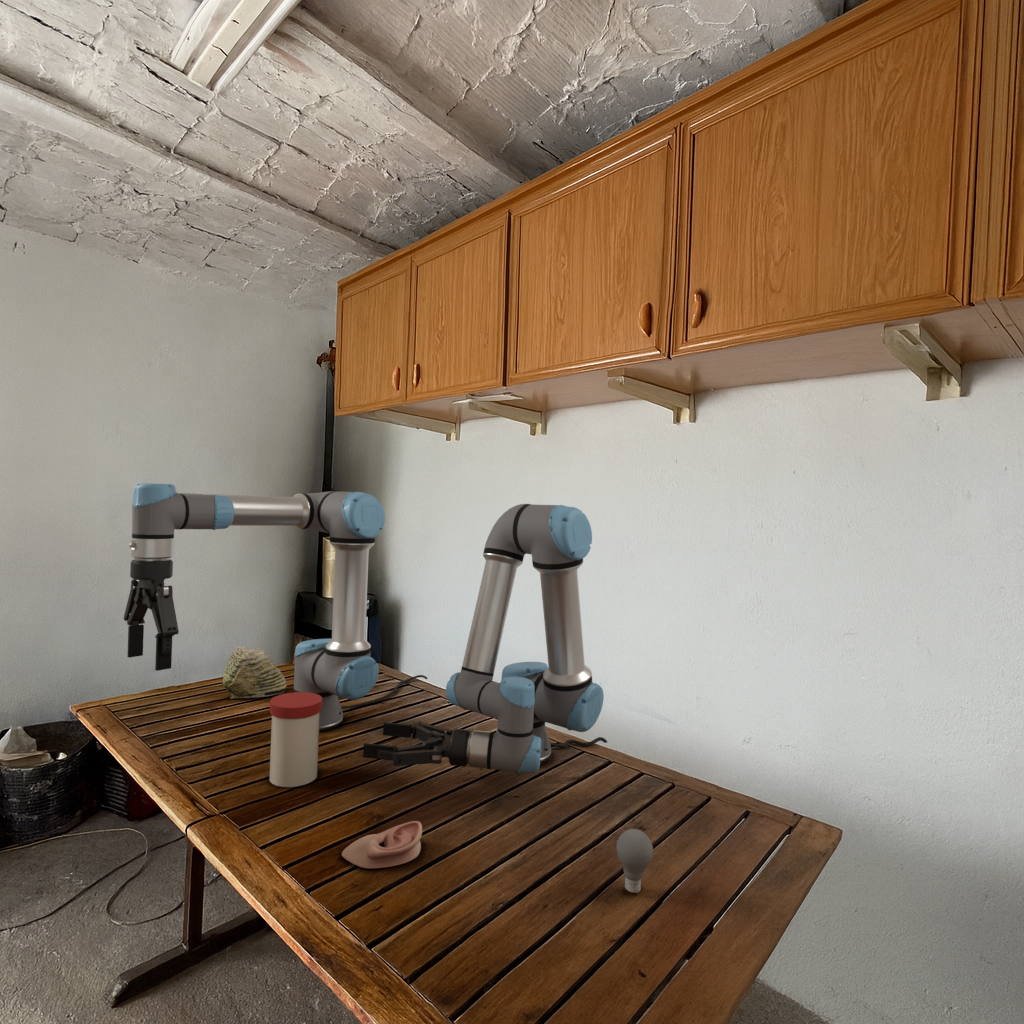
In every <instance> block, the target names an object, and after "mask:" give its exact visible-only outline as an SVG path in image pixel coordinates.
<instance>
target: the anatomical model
mask: <svg viewBox="0 0 1024 1024" xmlns="http://www.w3.org/2000/svg"><path fill="white" fill-rule="evenodd" d="M422 835H423V825H422V823H421V821H419V820H412V821H407V822H404V823H401V824H398V825H395V826H393V827H390V828H389V829H386V830H384V831H381V832H379V833H372V834H367V835H365V836H363V837H360V838H358V839H357V840H355V841H353V842H352V843H350V844H349V845H347V846H346V847H345V848H344V849H343V851H341V856H342V858H343V859H345V860H346V861H347V862H349V863H350V864H352V865H355V866H357V867H360V868H362V869H366V870H367V869H370V870H371V869H381V868H382V869H383V868H390V867H395V866H400V865H404V864H407V863H409V862H410V861H412V860H414V859H416V858H417V857H418V856H419V855H420V852H421V849H422V843H421V842H422V841H421V839H422Z"/></svg>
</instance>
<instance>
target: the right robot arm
mask: <svg viewBox="0 0 1024 1024" xmlns="http://www.w3.org/2000/svg"><path fill="white" fill-rule="evenodd" d="M592 543H593V531H592V527H591V523H590V521H589V519H588V517H587V515H586V514H585V513H584V512H583V511H582V510H581V509H579V508H577V507H574V506H567V505H563V504H531V503H520V504H516V505H514V506H512V507H510V508H508V509H507V510H506V511H504V512H503V514H501V515H500V516H499V517H498V519H497V520H496V521H495V523H494V524H493V526H492V528H491V530H490V532H489V534H488V536H487V539H486V541H485V544H484V549H483V553H482V556H483V558H484V560H485V563H484V568H483V571H482V577H481V580H480V581H481V582H480V586H479V590H478V594H477V599H476V603H475V607H474V612H473V617H472V621H471V625H470V630H469V634H468V639H467V643H466V648H465V652H464V655H463V660H462V665H461V667H460V671H457V672H455V673H453V674H452V675H451V676H450V677H449V680H448V681H447V683H446V685H445V696H446V699H447V700H448V702H449V703H450V704H451V705H452V706H456V707H458V708H460V709H463V710H465V711H470V712H473V713H476V714H480V715H483V716H486V717H489V718H492V719H495V720H497V729H496V732H495V731H487V730H477V729H474V730H473V731H472V732H471V730H470V729H463V728H454V729H449V728H448V729H447V728H443V727H440V726H436V725H432V724H430V723H426V722H423V721H418V722H417V723H415V724H408V723H407V724H405V723H395V722H383V724H382V725H383V726H382V736H386V737H397V738H408V739H411V740H416V739H418V740H419V741H421V742H422V743H420V744H414V745H409V746H402V747H399V746H397V745H396V744H394V745H387V744H376V743H368V742H367V743H366V742H365V743H363V746H362V747H363V749H362V758H363V759H364V758H365V759H373V760H374V759H375V760H384V761H392V763H393V764H392V765H393V766H394V767H403V766H416V765H429V764H435V765H441V764H442V761H443V760H442V759H443V758H447V759H448V763H449V765H450V766H452V767H462V768H464V767H467V766H469V768H475V769H479V770H480V771H484V770H494V771H503V772H511V773H516V774H535V773H538V771H539V770H540V766H541V765H544V764H545V763H547V762H549V761H550V760H551V758H552V747H554V748H559V749H561V748H562V749H565V748H566V747H568V745H569V744H574V745H577V746H580V747H589V746H593V745H595V744H597V743H598V742H603V743H604V744H606V743H608V740H607V739H606V738H604V737H602V736H599V737H596V738H594V739H593V740H590V741H588V742H586V741H585V742H583V741H580V740H575V739H567V740H566V741H565V742H564V743H558V742H557V743H556V742H550V739H549V735H548V731H547V728H546V723H547V724H551V725H554V726H556V727H557V726H558V727H561V728H564V729H567V731H573V732H578V733H585V732H587V731H589V730H591V729H592V727H593V726H594V725H595V724H596V722H597V721H598V720H599V717H600V714H601V712H602V709H603V706H604V696H605V695H604V689H603V688H602V686H601V685H600V684H598V683H596V682H593V673H592V670H591V668H590V667H589V666H587V665H586V663H585V653H584V639H583V627H582V613H581V602H580V601H581V600H580V589H579V576H578V569H580V567H581V566H582V565H583V564H584V558H586V557H587V556H588V555H589V553H590V551H591V545H592ZM526 554H527V555H531V561H532V567H533V568H534V570H536V571H537V572H538V573H539V576H540V587H541V600H542V611H543V621H544V632H545V645H546V654H547V655H546V656H547V663H546V662H541V661H520V662H514V663H510V664H507V665H506V666H504V667H503V669H502V671H501V679H500V682H497V681H494V680H493V679H494V675H495V669H496V665H497V661H498V656H499V651H500V648H501V647H500V646H501V642H502V637H503V633H504V629H505V625H506V619H507V615H508V612H509V611H508V610H509V606H510V601H511V597H512V592H513V588H514V584H515V578H516V575H517V570H518V568H519V567H520V566H521V565H523V562H524V558H525V555H526Z"/></svg>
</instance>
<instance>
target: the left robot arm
mask: <svg viewBox="0 0 1024 1024" xmlns="http://www.w3.org/2000/svg"><path fill="white" fill-rule="evenodd" d="M385 515H386V513H385V511H384V508H383V505H382V503H381V502H380V501H379V500H378V498H377V497H375V495H373V494H370V493H367V492H363V491H362V492H361V491H337V490H336V491H335V490H333V491H332V490H330V491H321V492H311V493H295V494H294V495H293V496H276V495H275V496H274V495H273V496H272V495H248V494H247V495H246V494H244V495H243V494H220V493H219V494H218V493H217V494H216V493H215V494H214V493H189V492H187V493H186V492H177V491H176V486H175V485H174V484H173V483H152V482H139V483H137V484H136V485H135V486H134V488H133V492H132V501H131V520H132V521H131V542H130V543H128V547H129V548H130V549H131V550H130V556H131V558H133V559H132V560H131V561H130V567H129V568H130V571H129V574H130V575H129V576H130V578H131V581H130V590H129V594H128V598H127V603H126V607H125V610H124V615H123V621H124V622H126V624H127V626H128V629H127V630H128V631H127V658H135V657H142V656H144V635H145V634H144V630H145V625H144V624H145V623H146V621H145V619H144V618H145V616H146V615H147V612H148V609H149V610H151V613H152V618H153V620H154V624H155V627H156V631H157V633H156V635H155V636H154V638H155V661H154V663H155V665H154V668H155V669H154V670H155V671H157V672H159V671H164V670H169V669H172V659H173V657H172V655H173V637H175V636H176V635H179V632H180V631H179V625H178V619H177V615H176V614H177V613H176V609H175V603H174V597H173V595H174V593H173V585H165V580H167V579H171V578H172V577H173V575H174V573H173V572H174V561H173V560H172V559H171V558H173V557H174V554H175V553H174V552H175V530H213V531H215V530H224V529H228V528H230V526H233V527H234V526H237V527H238V526H240V527H243V526H246V527H247V526H249V527H250V526H258V527H259V526H268V527H269V526H276V527H277V526H282V527H284V526H285V527H286V526H287V527H288V526H289V527H290V526H291V527H293V528H294V529H296V530H308V531H309V530H310V531H316V532H319V533H325V534H329V544H330V545H331V546H332V547H333V548H334V550H335V551H334V572H333V573H334V577H333V599H332V625H331V626H332V627H331V638H317V639H308V640H304V641H300V642H299V643H297V645H296V646H295V650H294V655H293V657H294V672H293V673H294V674H293V692H309V693H315V694H318V695H320V696H321V697H322V710H321V711H320V720H319V732H325V731H329V730H332V729H335V728H337V727H339V726H340V725H342V723H343V722H344V714H343V709H352V708H357V707H362V706H365V705H369V704H372V703H375V702H379V701H383V700H384V699H387V698H389V697H390V696H392V695H393V694H394V693H395V692H396V691H397V689H398V688H400V687H401V686H402V685H404V684H405V683H407V682H410V681H413V680H415V679H418V678H423V679H425V680H428V677H427V676H426V675H423V674H417V675H414V676H412V677H409V678H406V679H404V680H402V681H401V682H399V683H398V684H397V685H396V686H395V687H394V688H393V689H392V691H391V692H389V693H388V694H386V695H383V696H381V697H378V698H375V699H370V700H368V701H364V702H360V703H355V704H350V705H341V702H340V699H339V698H341V699H342V700H343V699H344V700H348V701H349V700H350V701H357V700H360V699H362V698H364V697H365V696H367V695H368V694H370V692H371V690H372V689H374V687H375V685H376V683H377V682H378V678H379V674H380V672H379V671H380V670H379V669H380V668H379V665H378V663H377V662H376V660H375V659H374V657H371V652H372V649H371V648H372V644H371V643H370V642H368V640H367V639H366V631H367V607H368V606H367V605H368V604H367V602H368V582H369V581H368V579H369V555H370V553H369V552H370V550H371V548H372V547H374V545H375V544H376V536H378V535H379V534H380V533H381V530H383V528H384V526H385V522H386V521H385V520H386V516H385Z"/></svg>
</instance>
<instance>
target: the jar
mask: <svg viewBox="0 0 1024 1024" xmlns="http://www.w3.org/2000/svg"><path fill="white" fill-rule="evenodd" d="M270 720H271V723H270V746H269V747H270V750H269V774H268V781H269V782H270V783H271V784H272V785H273V786H276V787H280V788H295V787H300V786H305V785H307V784H310V783H312V782H314V781H315V780H316V779H317V778H318V772H319V771H318V770H319V746H320V745H319V744H320V743H319V742H320V731H319V720H320V712H319V713H318V714H315V715H313V716H309V717H305V718H297V719H285V718H278V717H275V716H272V715H271V719H270Z"/></svg>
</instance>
